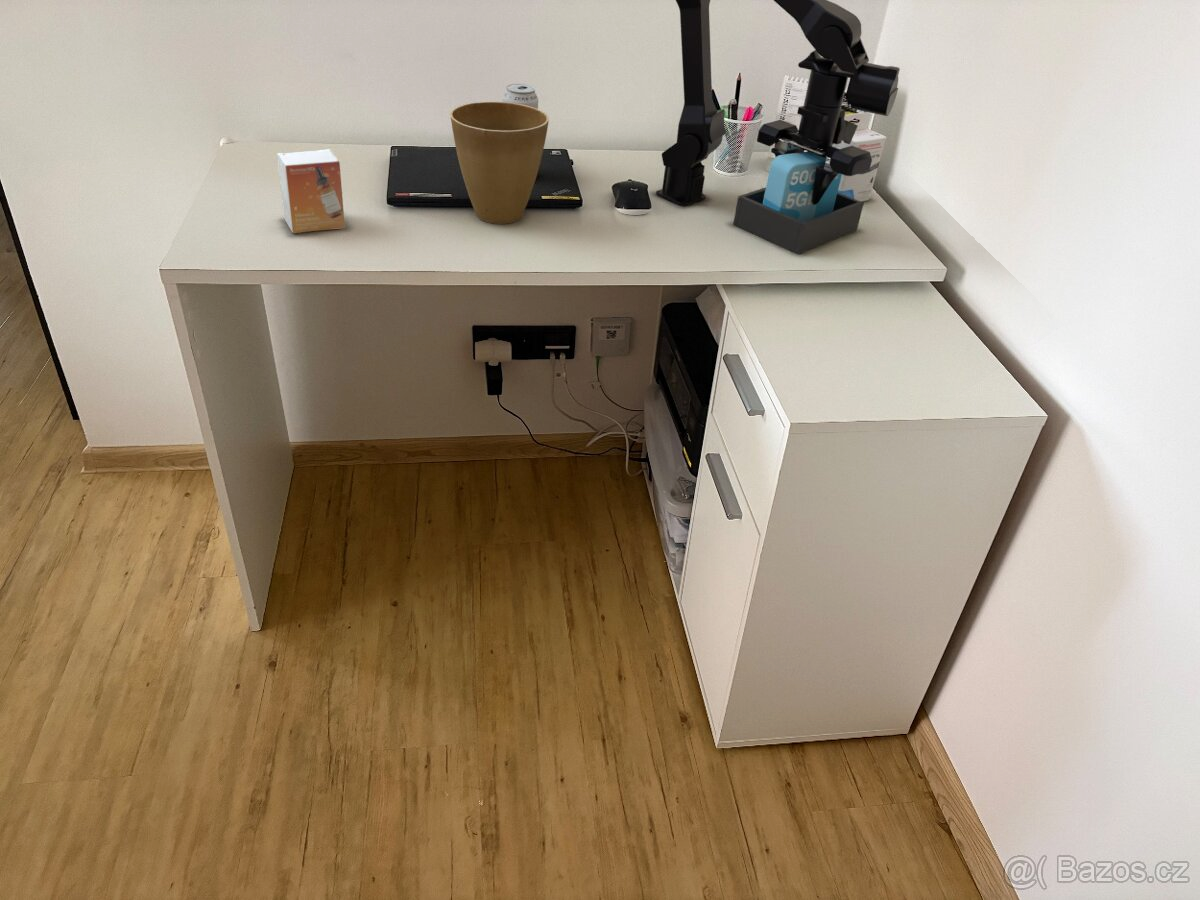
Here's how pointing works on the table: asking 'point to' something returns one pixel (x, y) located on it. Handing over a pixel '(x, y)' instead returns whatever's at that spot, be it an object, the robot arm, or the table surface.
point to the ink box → (870, 142)
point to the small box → (311, 190)
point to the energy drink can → (521, 95)
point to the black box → (796, 222)
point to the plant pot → (499, 156)
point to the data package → (798, 186)
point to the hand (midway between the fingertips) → (802, 198)
